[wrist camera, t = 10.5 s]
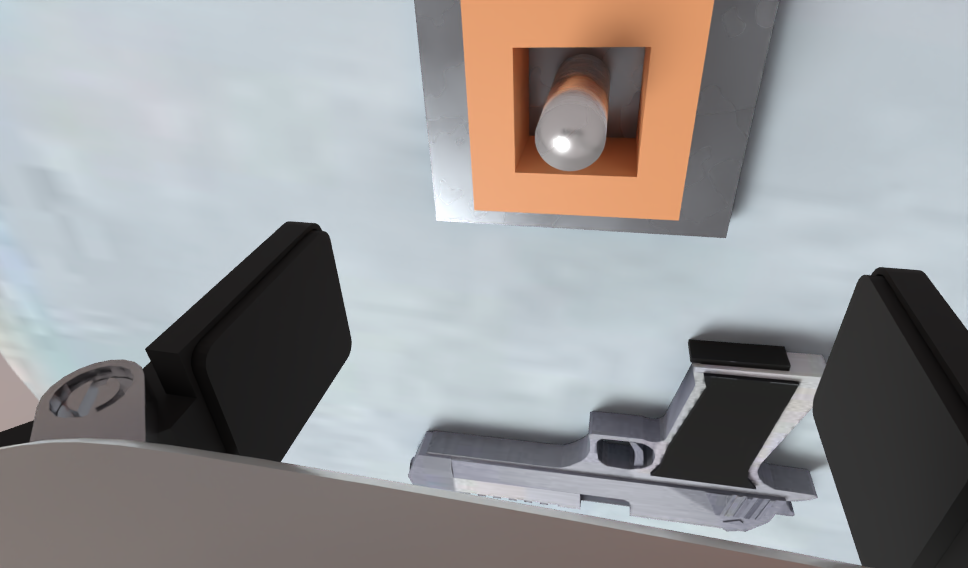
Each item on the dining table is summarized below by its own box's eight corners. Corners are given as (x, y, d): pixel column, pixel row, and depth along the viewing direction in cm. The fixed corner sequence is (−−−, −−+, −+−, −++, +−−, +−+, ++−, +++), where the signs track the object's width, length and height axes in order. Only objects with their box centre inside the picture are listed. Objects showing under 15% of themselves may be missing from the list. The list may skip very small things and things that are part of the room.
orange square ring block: (702, -31, 18) (716, -14, 15) (672, 176, 22) (678, 220, 19) (484, -24, 19) (460, -8, 17) (492, 170, 23) (474, 210, 21)
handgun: (375, 340, 29) (408, 489, 36) (871, 381, 24) (802, 543, 31) (391, 311, 31) (419, 458, 38) (852, 344, 26) (792, 504, 33)
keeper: (800, -132, 17) (877, -136, 12) (722, 225, 24) (749, 323, 19) (412, -111, 19) (332, -108, 14) (442, 210, 26) (396, 293, 21)
